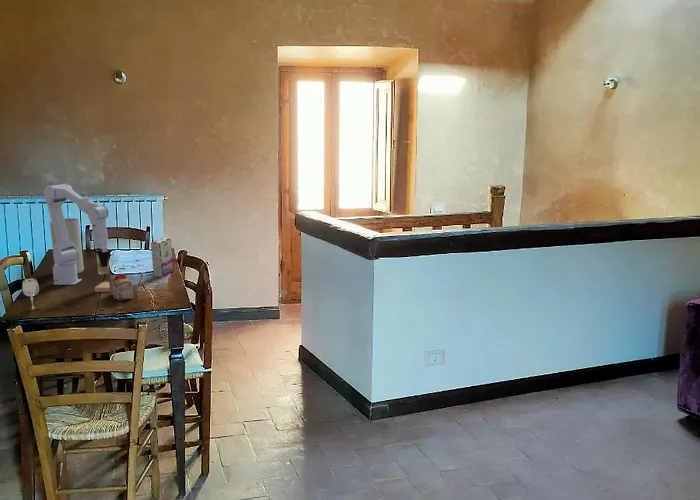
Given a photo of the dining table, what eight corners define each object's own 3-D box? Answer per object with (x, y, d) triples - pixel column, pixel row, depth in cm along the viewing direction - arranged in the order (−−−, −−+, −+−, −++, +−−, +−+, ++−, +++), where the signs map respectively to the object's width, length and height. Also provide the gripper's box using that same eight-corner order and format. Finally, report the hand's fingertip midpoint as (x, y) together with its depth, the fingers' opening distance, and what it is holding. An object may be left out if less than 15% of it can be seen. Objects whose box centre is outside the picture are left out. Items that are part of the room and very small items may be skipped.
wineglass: (28, 308, 260) (24, 278, 258) (43, 307, 261) (40, 277, 258) (22, 312, 255) (18, 282, 252) (38, 311, 255) (34, 281, 253)
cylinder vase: (77, 275, 310) (71, 222, 304) (50, 275, 310) (44, 223, 305) (88, 268, 322) (82, 218, 317) (62, 269, 322) (57, 218, 317)
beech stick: (99, 274, 282) (98, 251, 280) (98, 272, 285) (96, 250, 283) (109, 273, 284) (107, 250, 282) (107, 271, 287) (105, 249, 285)
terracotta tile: (94, 287, 281) (110, 287, 281) (103, 282, 290) (118, 282, 290) (94, 292, 282) (111, 292, 281) (103, 287, 291) (119, 287, 290)
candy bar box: (164, 271, 315) (161, 237, 312) (174, 271, 314) (171, 237, 311) (152, 277, 304) (150, 242, 301) (162, 277, 303) (160, 242, 300)
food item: (136, 299, 270) (134, 276, 268) (116, 303, 265) (114, 279, 263) (126, 292, 281) (124, 269, 279) (107, 295, 276) (104, 272, 274)
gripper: (87, 232, 285) (90, 263, 288) (93, 238, 273) (96, 270, 276) (104, 230, 288) (107, 261, 291) (111, 236, 276) (114, 267, 279)
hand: (103, 265), depth 284 cm, fingers closed on beech stick, 4 cm apart
